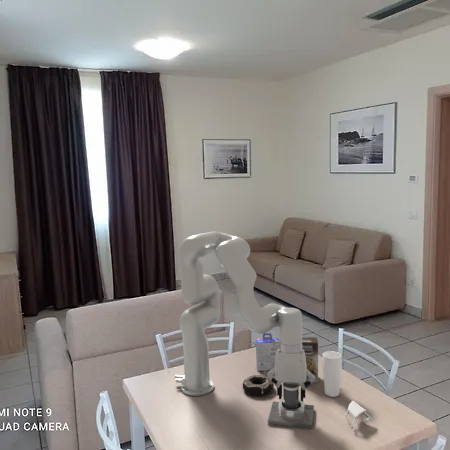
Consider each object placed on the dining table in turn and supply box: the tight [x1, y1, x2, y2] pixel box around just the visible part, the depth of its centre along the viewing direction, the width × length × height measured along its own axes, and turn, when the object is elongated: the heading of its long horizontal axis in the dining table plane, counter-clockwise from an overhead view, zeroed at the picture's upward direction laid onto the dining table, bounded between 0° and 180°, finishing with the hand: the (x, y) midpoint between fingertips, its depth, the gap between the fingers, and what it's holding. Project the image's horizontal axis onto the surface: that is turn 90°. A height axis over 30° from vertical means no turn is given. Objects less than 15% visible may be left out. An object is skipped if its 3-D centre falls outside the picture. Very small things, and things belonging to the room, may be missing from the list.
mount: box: [267, 398, 315, 430], centre depth 143 cm, size 14×12×4 cm
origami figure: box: [343, 400, 373, 432], centre depth 140 cm, size 12×8×5 cm
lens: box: [282, 382, 300, 409], centre depth 143 cm, size 5×5×10 cm
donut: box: [242, 374, 275, 397], centre depth 162 cm, size 12×12×4 cm
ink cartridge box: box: [255, 332, 279, 372], centre depth 179 cm, size 10×6×14 cm, turn 89°
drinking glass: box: [321, 350, 343, 398], centre depth 157 cm, size 7×7×15 cm
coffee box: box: [302, 336, 319, 384], centre depth 169 cm, size 9×6×16 cm
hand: (291, 397), depth 143 cm, fingers open, 6 cm apart
